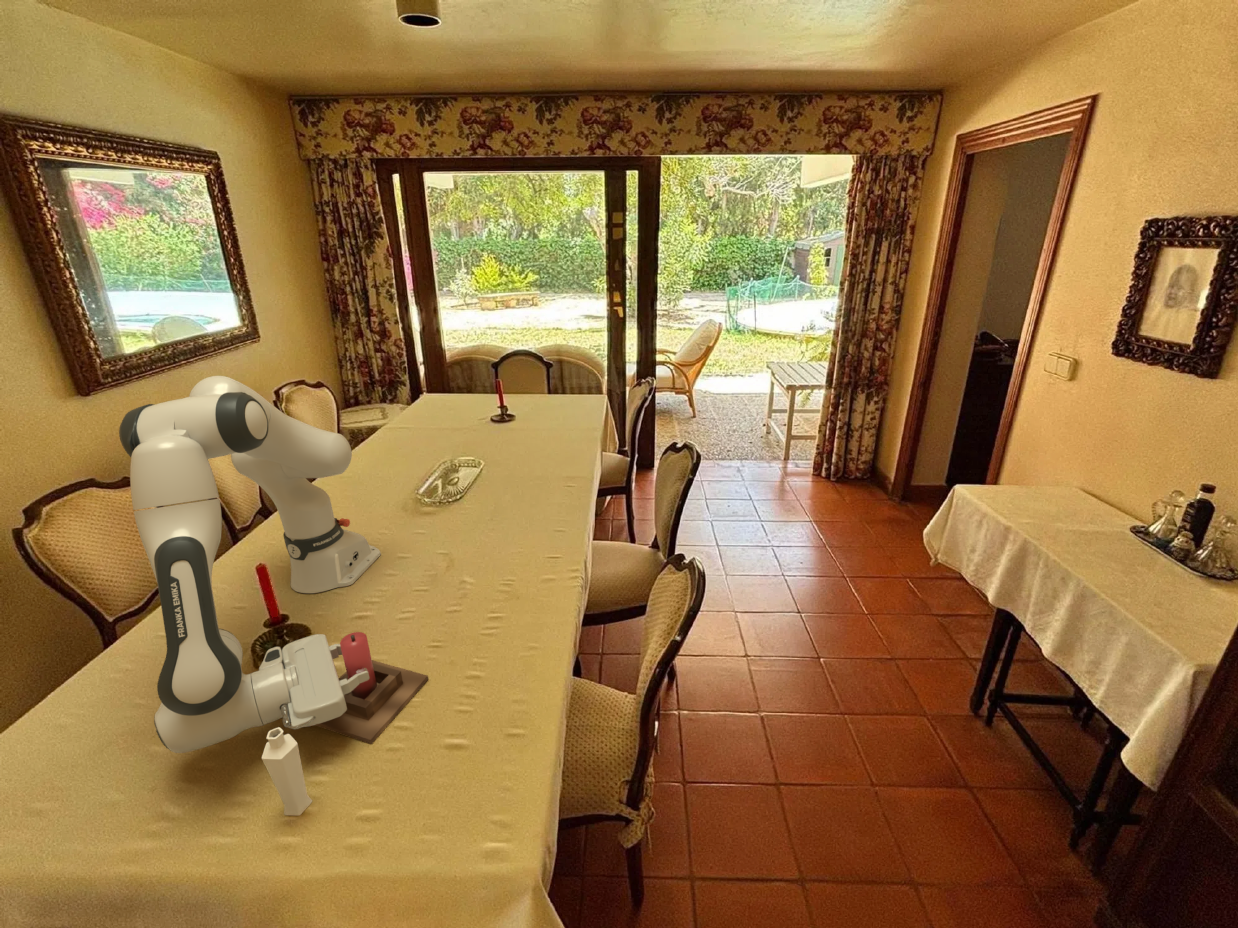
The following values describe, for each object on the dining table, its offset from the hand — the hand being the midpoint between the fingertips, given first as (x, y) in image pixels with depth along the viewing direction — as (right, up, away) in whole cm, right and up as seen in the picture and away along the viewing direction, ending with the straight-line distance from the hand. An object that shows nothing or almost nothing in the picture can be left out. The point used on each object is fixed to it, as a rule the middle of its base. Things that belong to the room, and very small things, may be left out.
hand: (363, 659), depth 106 cm
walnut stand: (-1, -8, +3) cm, 9 cm away
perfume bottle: (-3, -17, -17) cm, 24 cm away
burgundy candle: (-1, -7, +3) cm, 8 cm away
